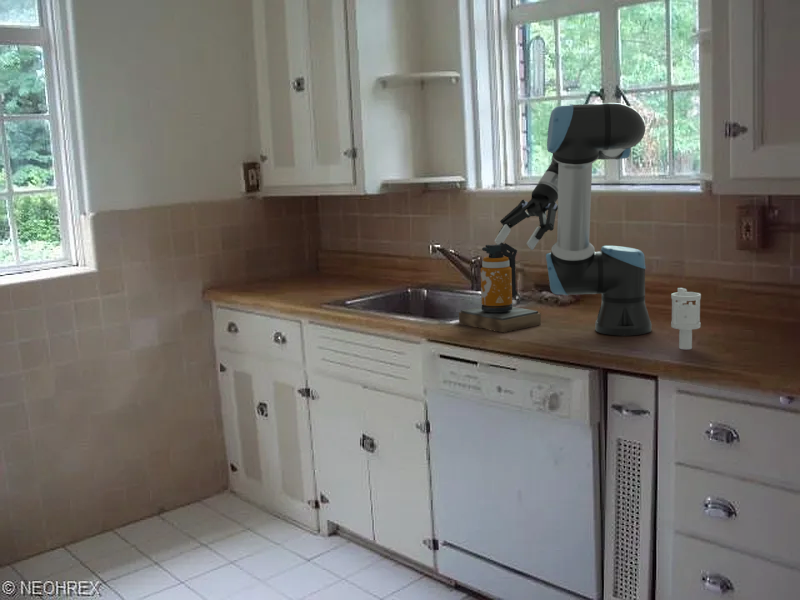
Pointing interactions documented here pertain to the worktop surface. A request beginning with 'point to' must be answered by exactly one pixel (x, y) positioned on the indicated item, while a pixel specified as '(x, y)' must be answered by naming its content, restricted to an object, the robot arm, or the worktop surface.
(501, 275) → the canister
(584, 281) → the robot arm
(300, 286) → the worktop surface
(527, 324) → the stand
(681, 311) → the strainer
